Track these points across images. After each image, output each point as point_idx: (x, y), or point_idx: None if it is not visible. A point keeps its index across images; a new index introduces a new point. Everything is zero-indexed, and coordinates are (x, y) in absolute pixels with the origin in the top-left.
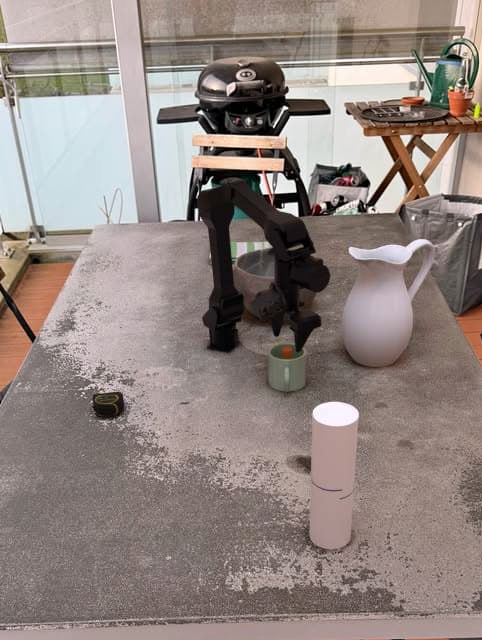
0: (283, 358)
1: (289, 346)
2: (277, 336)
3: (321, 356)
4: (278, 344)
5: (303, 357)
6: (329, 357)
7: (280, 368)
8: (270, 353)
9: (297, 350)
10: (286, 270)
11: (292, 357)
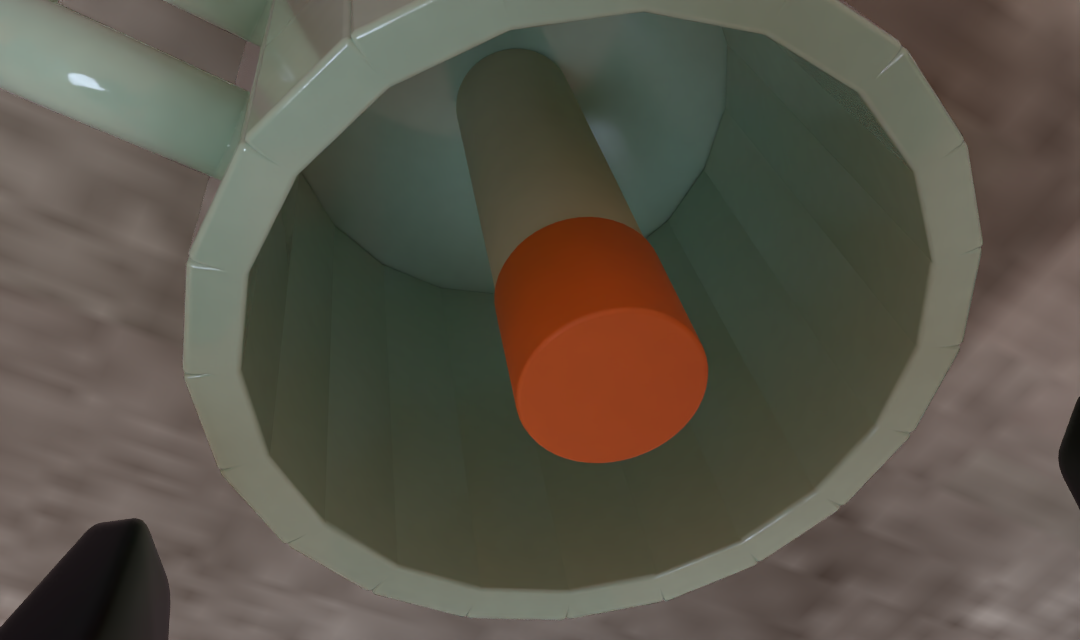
0: (569, 216)
1: (803, 454)
2: (1068, 434)
3: (768, 573)
4: (945, 333)
5: (264, 508)
6: (710, 614)
7: (307, 6)
8: (738, 19)
9: (64, 574)
10: None
11: None
